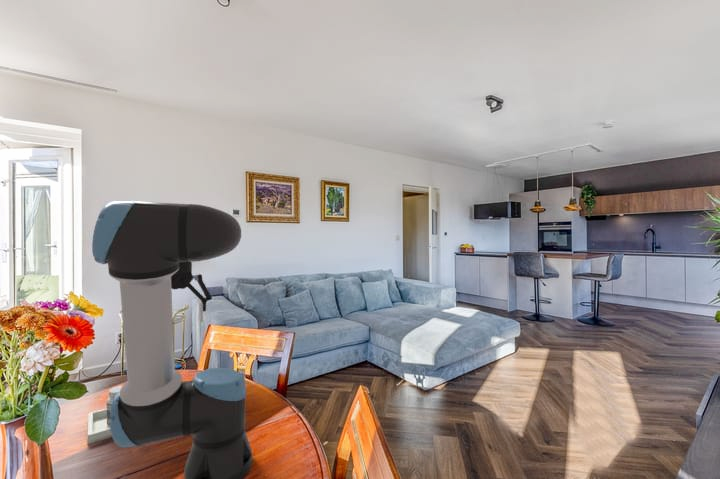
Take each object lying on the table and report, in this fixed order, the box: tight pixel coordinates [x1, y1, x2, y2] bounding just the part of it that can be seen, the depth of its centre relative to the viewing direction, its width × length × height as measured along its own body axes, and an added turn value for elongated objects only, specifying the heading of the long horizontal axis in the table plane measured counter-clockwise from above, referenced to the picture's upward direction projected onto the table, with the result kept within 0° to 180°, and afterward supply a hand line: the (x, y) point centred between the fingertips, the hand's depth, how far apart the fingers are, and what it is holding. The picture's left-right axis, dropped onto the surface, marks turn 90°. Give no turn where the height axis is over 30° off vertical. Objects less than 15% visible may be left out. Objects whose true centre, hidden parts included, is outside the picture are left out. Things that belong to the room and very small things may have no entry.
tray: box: [87, 407, 112, 445], centre depth 96 cm, size 14×14×2 cm
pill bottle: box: [106, 384, 124, 426], centre depth 96 cm, size 6×6×10 cm
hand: (178, 324), depth 108 cm, fingers open, 13 cm apart
